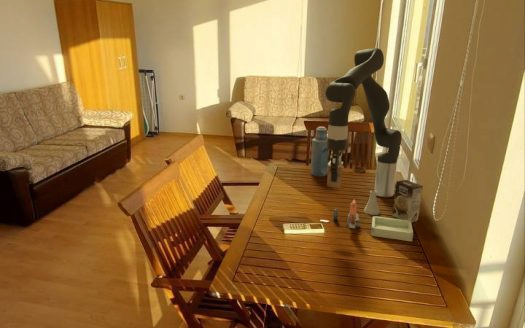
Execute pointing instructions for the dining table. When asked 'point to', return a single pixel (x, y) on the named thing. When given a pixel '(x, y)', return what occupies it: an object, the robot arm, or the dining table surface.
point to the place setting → (357, 168)
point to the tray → (392, 228)
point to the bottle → (319, 153)
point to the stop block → (339, 176)
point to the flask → (372, 204)
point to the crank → (353, 215)
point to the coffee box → (407, 200)
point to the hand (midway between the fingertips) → (334, 179)
